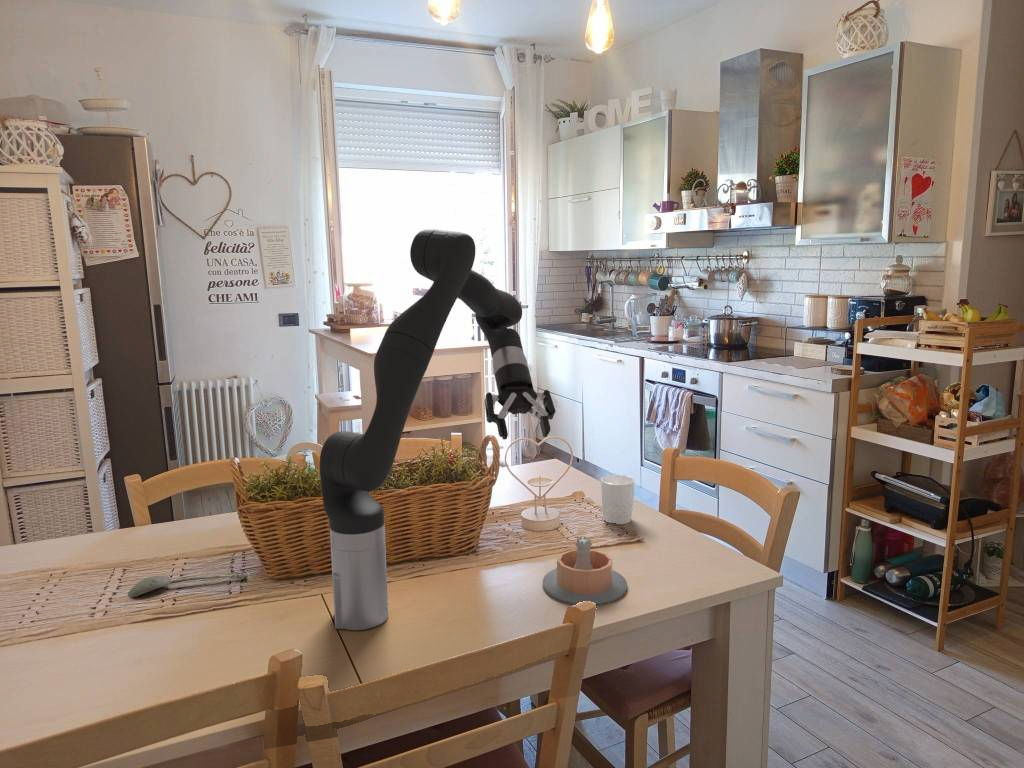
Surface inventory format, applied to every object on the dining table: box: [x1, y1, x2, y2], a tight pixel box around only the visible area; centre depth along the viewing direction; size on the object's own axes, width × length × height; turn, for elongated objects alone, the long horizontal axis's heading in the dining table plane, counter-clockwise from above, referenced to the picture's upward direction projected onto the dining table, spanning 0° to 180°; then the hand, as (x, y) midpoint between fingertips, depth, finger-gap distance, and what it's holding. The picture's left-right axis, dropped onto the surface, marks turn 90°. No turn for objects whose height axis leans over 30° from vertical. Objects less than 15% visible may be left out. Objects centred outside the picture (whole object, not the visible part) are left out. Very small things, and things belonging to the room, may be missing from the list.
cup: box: [542, 548, 628, 606], centre depth 138 cm, size 16×16×5 cm
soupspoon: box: [127, 572, 250, 599], centre depth 141 cm, size 22×3×7 cm
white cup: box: [600, 474, 635, 525], centre depth 173 cm, size 8×8×10 cm
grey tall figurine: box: [574, 536, 593, 570], centre depth 138 cm, size 4×4×8 cm
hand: (526, 436), depth 147 cm, fingers open, 8 cm apart
